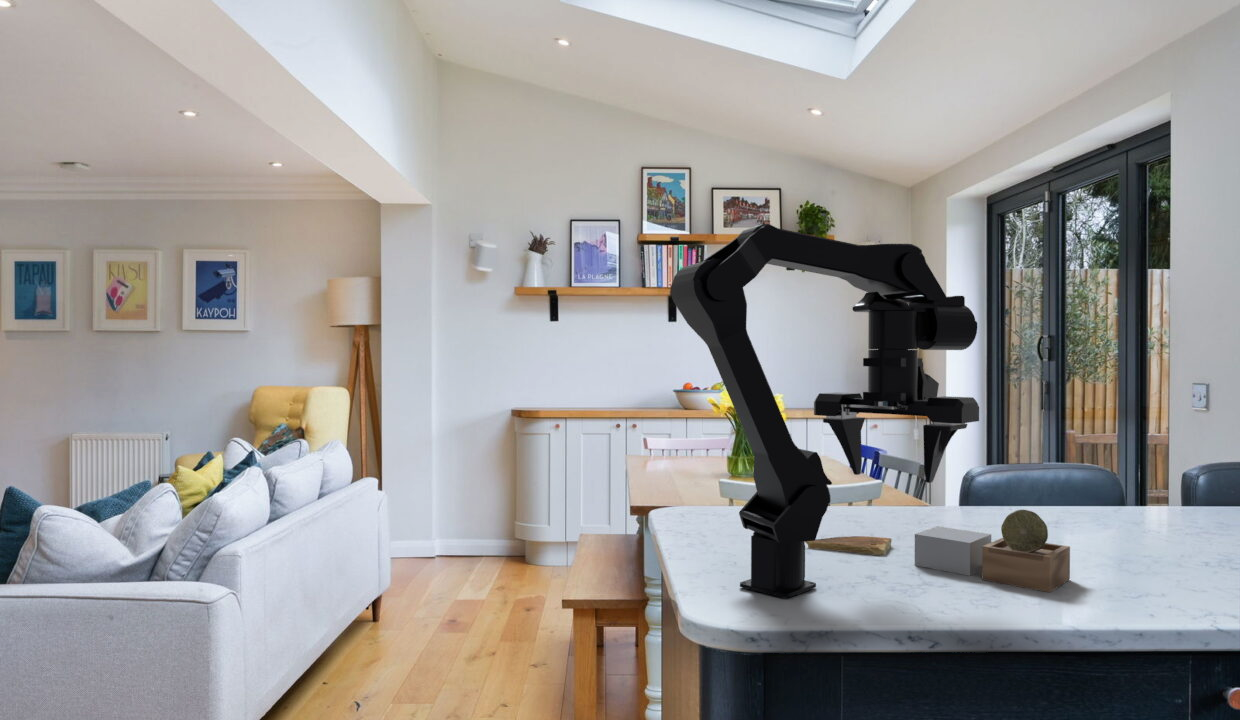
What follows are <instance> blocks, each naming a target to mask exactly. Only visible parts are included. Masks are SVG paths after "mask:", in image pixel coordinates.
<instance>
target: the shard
mask: <svg viewBox="0 0 1240 720" xmlns="http://www.w3.org/2000/svg"><path fill="white" fill-rule="evenodd" d="M892 540H893V539H892V538H891V537H880V536H879V537H877V536H865V535H864V536H863V535H862V536H861V535H859V536H853V535H852V536H837V537H827V538H826V537H825V538H820V539H819V538H818V539H817V538H816V539H815V540H814V541H805V543H806V545H807V548H808V549H809V548H810V549H815V548H819V549H818V550H829V551H839V552H848V553H849V552H850V553H855V554H856V553H857V554H865V555H866V554H868V555H872V556H873V555H875V556H883V557H884V556H885V555H886V553H887V552H888V551H889V550H890V549H891V547H892Z"/></svg>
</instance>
